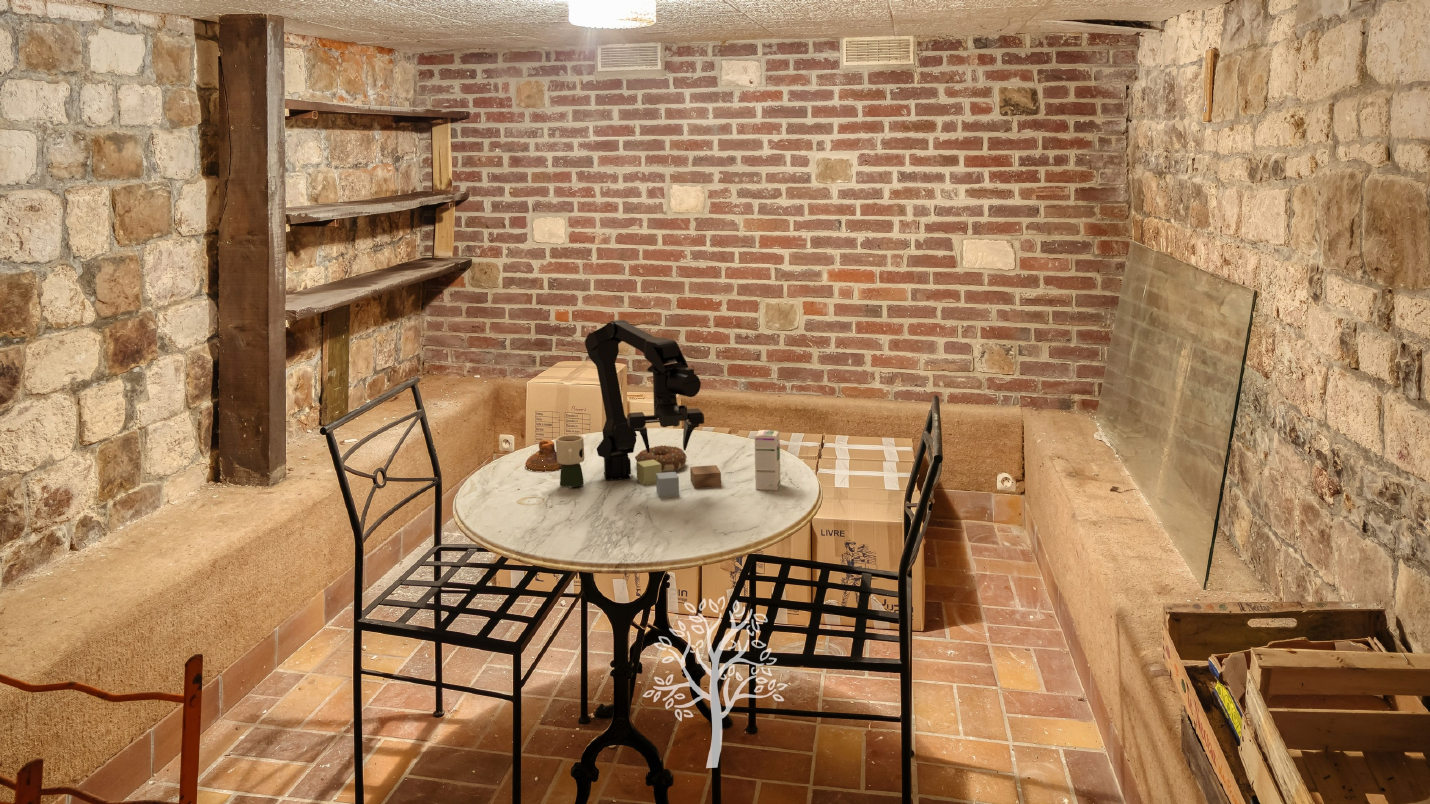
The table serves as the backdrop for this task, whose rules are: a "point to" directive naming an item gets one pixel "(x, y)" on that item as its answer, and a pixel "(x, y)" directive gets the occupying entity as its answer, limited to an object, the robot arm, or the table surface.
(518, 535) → the table surface
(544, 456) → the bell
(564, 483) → the character mug
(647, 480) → the olive cube
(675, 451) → the donut
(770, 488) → the syrup box
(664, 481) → the slate cube
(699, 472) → the walnut slab
